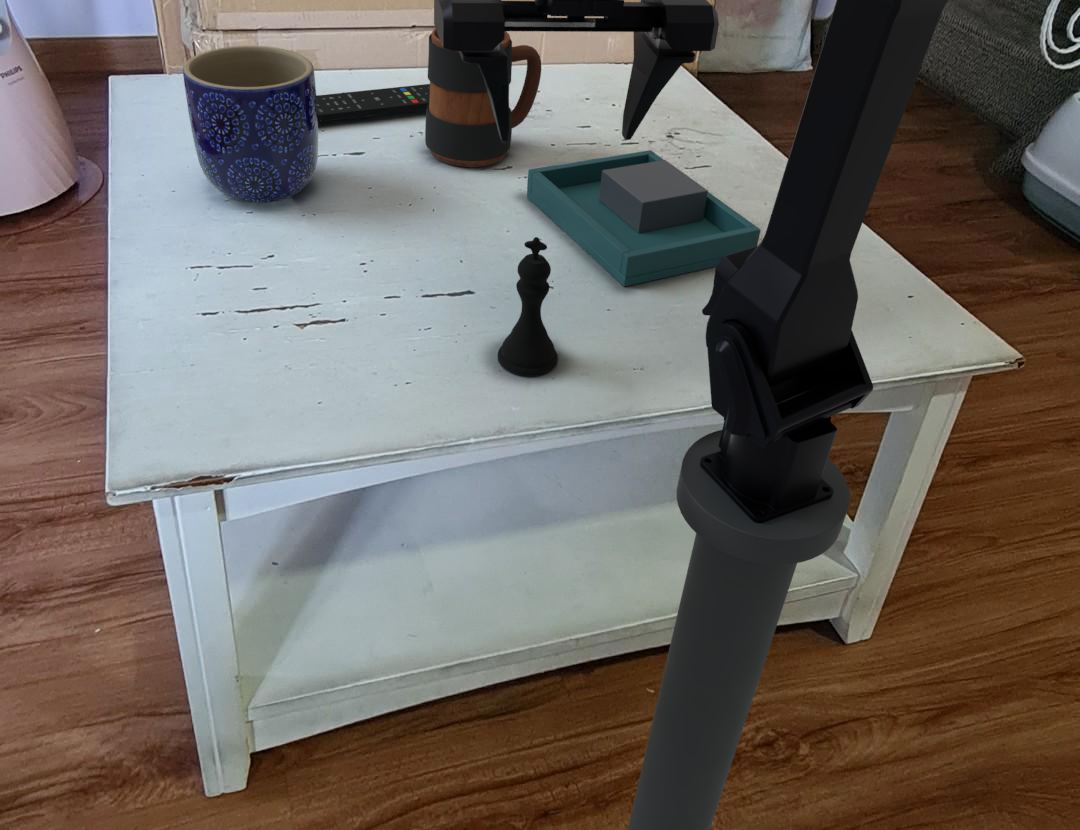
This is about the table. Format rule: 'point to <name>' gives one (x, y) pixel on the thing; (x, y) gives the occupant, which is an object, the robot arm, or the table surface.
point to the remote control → (372, 102)
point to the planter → (253, 120)
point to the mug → (472, 105)
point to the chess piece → (530, 320)
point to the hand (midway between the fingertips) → (565, 138)
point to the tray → (616, 244)
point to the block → (652, 196)
